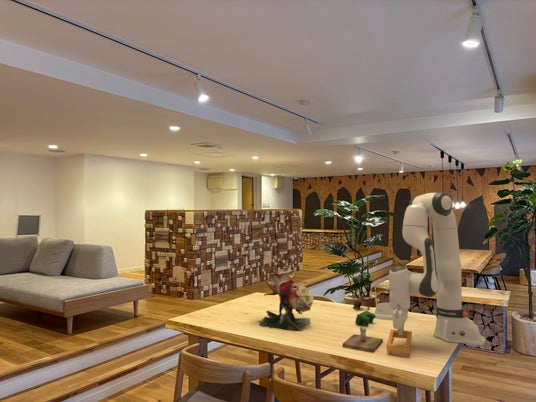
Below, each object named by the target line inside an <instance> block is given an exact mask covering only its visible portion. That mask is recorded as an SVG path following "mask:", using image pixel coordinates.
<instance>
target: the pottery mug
mask: <svg viewBox="0 0 536 402" xmlns="http://www.w3.org/2000/svg"><path fill="white" fill-rule="evenodd" d="M363 304H364V305H366V306H367V308H366V309H367V311H369V310H370V308H371V307H370V305H371V302H370V301H368V300H367V299H365V298H363V297H361V296H360V297H359V298H357V299H356V300H355V301H354V303H353V306H352V308H353V309H354V310H360V309H361V307H362V305H363Z"/></svg>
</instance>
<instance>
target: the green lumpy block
mask: <svg viewBox="0 0 536 402" xmlns="http://www.w3.org/2000/svg"><path fill="white" fill-rule="evenodd" d="M375 316H376V315H375V313H373V312H370V311H369V310H365V311H363V312H361V313H358V314H356V318H355V321H354V322H355V325H357V326H361V325H364V326H365V327H369V324H370V325H373V322H374V320H375V319H374V318H375Z"/></svg>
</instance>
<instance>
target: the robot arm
mask: <svg viewBox="0 0 536 402" xmlns="http://www.w3.org/2000/svg"><path fill="white" fill-rule="evenodd" d="M403 216H404V217H403V220H402V221H403V222H402V232H401V233H402V238H403V240H404V242H406V243H407V244H408V245H409V246H411V247H413V248H415V249H417V250H419V251H420V253H421V255H422V264H423V273H422V272H420V273H419V272H414V271H411V270H408V267H406V266H403V265H397V266H392V267H391V268H390V269H389V271H388V272H389V273H388V289H389V295H388V296H389V303H390V307H392V308H393V321H392V327H393V329H394V330H398V335H403V331H405V329H404V328H405V324H406V322H407V319H408V318H409V317H408V316H409V309H410V308H411V295H410V294H414V295H419V296H423V297H426V298H432V297H434V296H435V295H436V306H435V318H436V320H435V321H436V323H435V329H434V332H433V335H434V336H435V338H438V339H441V340H443V341H444V342H447V343H455V344H465V345H466V344H468V345H476V346H481V345H484V344H485V343H486V337H485V336H484V335H481V332H480V329H479V326H478V325H477V324H476V323H475V322H473V321H472V320H471V319H470V318H468V316H467V315H468V313H467V310H466V309H464V308H463V306H462V302H463V301H462V295H463V294H462V292H463V291H462V263H461V256H460V255H461V252H460V244H459V243H460V242H459V234H458V225H457V224H458V223H457V219H456V215H455V212H454V210H453V199H452V197H451V196H450V194H449V193H447V192H444V191H443V192H442V191H437V192H429V193H424V194H420V195H419V194H418V195H415V196H413V197H412V198H410V200H409V203H408V206H407V207H406V209H405V212H404V215H403ZM429 217H430V218H432V222H431V223H432V224H431V225H432V234H433V240H432V238H430V236H429V233H428V228H429V227H428V225H429V224H428V223H429V222H428V221H429V220H428V218H429Z"/></svg>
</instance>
